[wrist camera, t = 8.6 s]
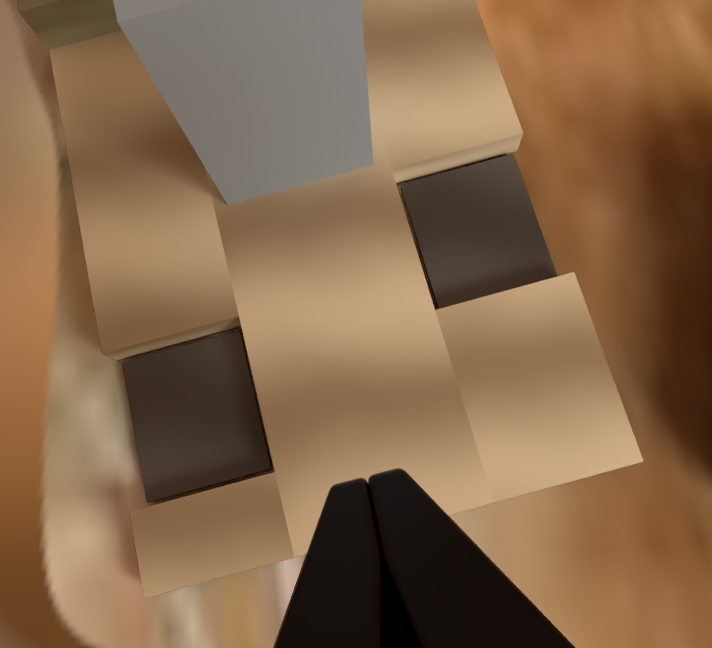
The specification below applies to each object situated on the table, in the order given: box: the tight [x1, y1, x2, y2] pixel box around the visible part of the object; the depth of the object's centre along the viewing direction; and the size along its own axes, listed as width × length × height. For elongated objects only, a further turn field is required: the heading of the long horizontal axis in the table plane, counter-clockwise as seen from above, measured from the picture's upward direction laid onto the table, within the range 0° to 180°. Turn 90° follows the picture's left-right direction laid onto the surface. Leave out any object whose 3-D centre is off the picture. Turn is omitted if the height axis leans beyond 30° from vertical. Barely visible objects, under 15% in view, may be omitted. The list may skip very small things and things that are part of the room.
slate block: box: [113, 0, 374, 205], centre depth 18 cm, size 5×5×9 cm
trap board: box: [17, 0, 644, 598], centre depth 22 cm, size 20×15×3 cm
